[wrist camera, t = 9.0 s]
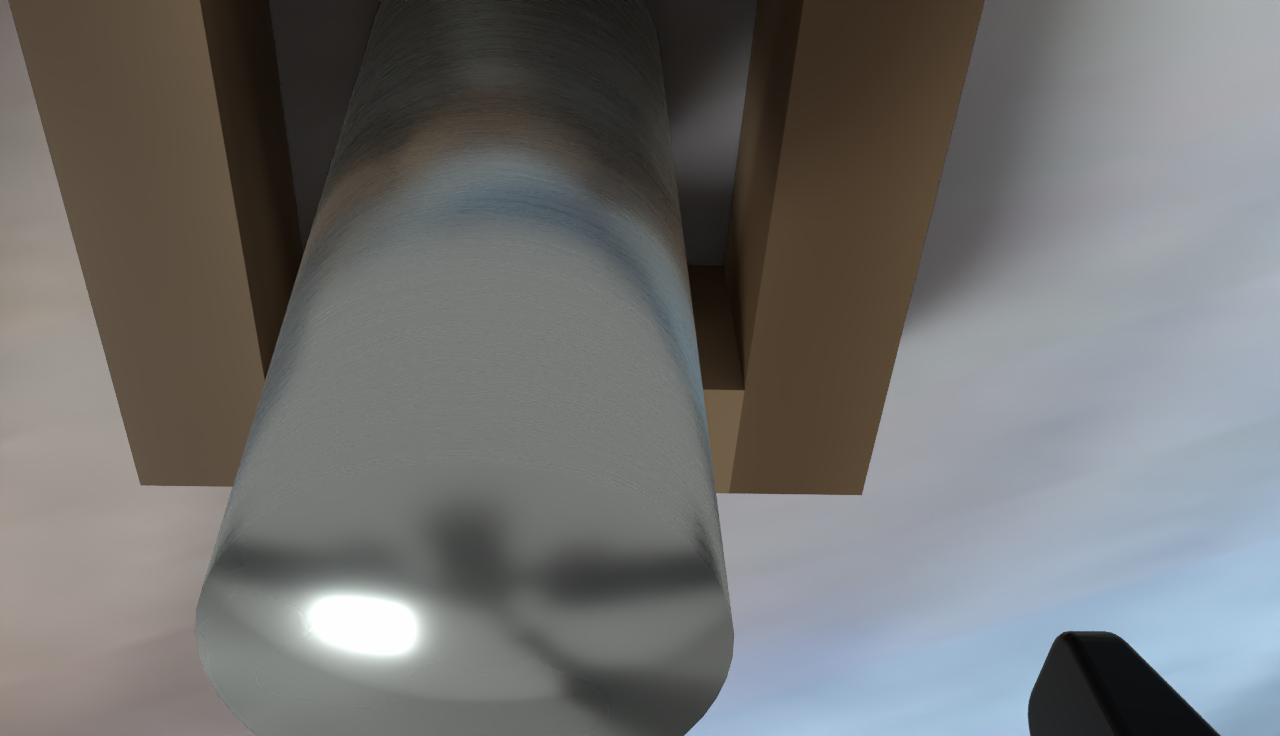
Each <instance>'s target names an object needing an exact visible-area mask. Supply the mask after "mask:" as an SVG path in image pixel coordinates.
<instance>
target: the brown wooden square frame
mask: <svg viewBox="0 0 1280 736" xmlns="http://www.w3.org/2000/svg"><path fill="white" fill-rule="evenodd" d="M984 1H985V0H758V2H757V10H756V17H755V25H754V33H753V41H752V49H751V57H750V65H749V72H748V80H747V88H746V96H745V104H744V112H743V120H742V127H741V135H740V143H739V151H738V159H737V167H736V174H735V182H734V190H733V198H732V206H731V214H730V222H729V229H728V237H727V245H726V253H725V261H724V267H712V266H687V268H688V276H689V284H690V292H691V300H692V308H693V315H694V323H695V331H696V339H697V347H698V355H699V363H700V371H701V379H702V386H703V394H704V402H705V410H706V418H707V426H708V434H709V442H710V450H711V458H712V465H713V473H714V481H715V489H716V493H753V494H827V495H862V491H863V487H864V483H865V479H866V475H867V471H868V467H869V463H870V459H871V455H872V451H873V447H874V443H875V439H876V435H877V431H878V427H879V423H880V419H881V415H882V411H883V407H884V403H885V399H886V395H887V391H888V387H889V383H890V379H891V375H892V371H893V367H894V363H895V359H896V355H897V351H898V347H899V343H900V339H901V335H902V331H903V327H904V322H905V318H906V314H907V310H908V306H909V302H910V298H911V294H912V290H913V286H914V282H915V278H916V274H917V270H918V266H919V262H920V258H921V254H922V250H923V246H924V242H925V238H926V234H927V230H928V226H929V222H930V218H931V214H932V210H933V206H934V202H935V198H936V194H937V190H938V186H939V182H940V178H941V174H942V170H943V166H944V162H945V158H946V154H947V149H948V145H949V141H950V137H951V133H952V129H953V125H954V121H955V117H956V113H957V109H958V105H959V101H960V97H961V93H962V89H963V85H964V81H965V77H966V73H967V69H968V65H969V61H970V57H971V53H972V49H973V45H974V41H975V37H976V33H977V29H978V25H979V21H980V17H981V13H982V9H983V5H984ZM9 4H10V8H11V11H12V15H13V19H14V22H15V26H16V30H17V33H18V37H19V41H20V44H21V48H22V52H23V55H24V59H25V63H26V66H27V70H28V74H29V77H30V81H31V85H32V88H33V92H34V96H35V99H36V103H37V107H38V110H39V114H40V118H41V121H42V125H43V129H44V132H45V136H46V140H47V143H48V147H49V151H50V154H51V158H52V162H53V165H54V169H55V173H56V176H57V180H58V184H59V187H60V191H61V195H62V198H63V202H64V206H65V209H66V213H67V217H68V220H69V224H70V228H71V231H72V235H73V239H74V242H75V246H76V250H77V253H78V257H79V261H80V264H81V268H82V272H83V275H84V279H85V283H86V286H87V290H88V294H89V297H90V301H91V305H92V308H93V312H94V316H95V319H96V323H97V327H98V330H99V334H100V338H101V341H102V345H103V349H104V352H105V356H106V360H107V363H108V367H109V371H110V374H111V378H112V382H113V385H114V389H115V393H116V396H117V400H118V404H119V407H120V411H121V415H122V418H123V422H124V426H125V429H126V433H127V437H128V440H129V444H130V448H131V451H132V455H133V459H134V462H135V466H136V470H137V473H138V477H139V481H140V484H141V485H158V486H232V487H233V485H234V482H235V478H236V475H237V472H238V469H239V465H240V462H241V459H242V455H243V452H244V449H245V445H246V442H247V439H248V436H249V432H250V429H251V426H252V422H253V419H254V416H255V413H256V409H257V406H258V403H259V399H260V396H261V393H262V389H263V386H264V383H265V380H266V376H267V373H268V370H269V366H270V363H271V360H272V356H273V353H274V350H275V347H276V343H277V340H278V337H279V333H280V330H281V327H282V324H283V320H284V317H285V314H286V310H287V307H288V304H289V300H290V297H291V294H292V291H293V287H294V284H295V281H296V277H297V274H298V271H299V267H300V264H301V261H302V258H303V254H302V247H301V239H300V232H299V224H298V217H297V209H296V202H295V194H294V187H293V179H292V172H291V164H290V157H289V149H288V142H287V135H286V127H285V120H284V112H283V105H282V97H281V90H280V82H279V75H278V67H277V60H276V52H275V45H274V37H273V30H272V22H271V15H270V8H269V0H9Z"/></svg>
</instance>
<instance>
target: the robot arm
mask: <svg viewBox="0 0 1280 736" xmlns="http://www.w3.org/2000/svg"><path fill="white" fill-rule="evenodd" d="M1028 723H1029V730H1030V736H1220V735H1219V734H1218V733H1217V732H1216V731H1215V730H1214V729H1213V728H1212V727H1211V726H1210V725H1209V724H1208V723H1207V722H1206V721H1205V720H1204V719H1203V718H1202V717H1201V716H1200V715H1199V714H1198V713H1197V712H1196V711H1195V710H1194V709H1193V708H1192V707H1191V706H1190V705H1189V704H1188V703H1187V702H1186V701H1185V700H1184V699H1183V698H1182V697H1181V696H1180V695H1179V694H1178V693H1177V692H1176V691H1175V690H1174V689H1173V688H1172V687H1171V686H1170V685H1169V684H1168V683H1167V682H1166V681H1165V680H1164V679H1163V678H1162V677H1161V676H1160V675H1159V674H1158V673H1157V672H1156V671H1155V670H1154V669H1153V668H1152V667H1151V666H1150V665H1149V664H1148V663H1147V662H1146V661H1145V660H1144V659H1143V658H1142V657H1141V656H1140V655H1139V654H1138V653H1137V652H1136V651H1135V650H1134V649H1133V648H1132V647H1131V646H1130V645H1129V644H1128V643H1127V642H1126V641H1125V640H1123V639H1122V638H1121V637H1119V636H1117V635H1116V634H1113V633H1110V632H1105V631H1068V632H1063V633H1062V634H1061V635H1059V636H1058V637H1057V638H1056V639H1055V641H1054V643H1053V644H1052V647H1051V649H1050V651H1049V654H1048V656H1047V658H1046V660H1045V663H1044V665H1043V667H1042V669H1041V672H1040V674H1039V676H1038V679H1037V681H1036V683H1035V685H1034V688H1033V690H1032V692H1031V696H1030V699H1029V705H1028Z"/></svg>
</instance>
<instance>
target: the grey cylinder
mask: <svg viewBox="0 0 1280 736" xmlns="http://www.w3.org/2000/svg"><path fill="white" fill-rule="evenodd" d="M195 635H196V641H197V648H198V654H199V657H200V660H201V662H202V665H203V668H204V671H205V673H206V676H207V678H208V679H209V681H210V683H211V684H212V686H213V688H214V690H215V691H216V693H217V695H218V696H219V698H220V699H221V700H222V701H223V702H224V704H225V705H226V706H227V707H228V708H229V710H230V711H231V712H232V713H233V715H234V716H235V717H236V718H238V719H239V720H240V721H241V722H242V723H243V724H244V725H245V726H246V727H247V728H248V729H250V730H251V731H252V732H253V733H254V734H255V735H257V736H684V735H685V734H686V733H687V732H688V731H689V730H690V729H691V728H692V727H693V726H694V725H695V724H696V723H697V722H698V721H699V720H700V719H701V718H702V717H703V716H704V715H705V713H706V712H707V710H708V709H709V708H710V706H711V705H712V704H713V702H714V701H715V699H716V698H717V696H718V694H719V692H720V690H721V688H722V686H723V684H724V682H725V680H726V678H727V675H728V671H729V668H730V664H731V660H732V656H733V643H734V631H733V623H732V615H731V607H730V600H729V592H728V584H727V576H726V568H725V560H724V552H723V544H722V536H721V529H720V521H719V513H718V505H717V497H716V489H715V481H714V473H713V465H712V458H711V450H710V442H709V434H708V426H707V418H706V410H705V402H704V394H703V386H702V379H701V371H700V363H699V355H698V347H697V339H696V331H695V323H694V315H693V308H692V300H691V292H690V284H689V276H688V268H687V260H686V252H685V244H684V237H683V229H682V221H681V213H680V205H679V197H678V189H677V181H676V173H675V165H674V158H673V150H672V142H671V134H670V126H669V118H668V110H667V102H666V94H665V87H664V79H663V71H662V63H661V55H660V47H659V40H658V36H657V32H656V28H655V25H654V21H653V19H652V16H651V14H650V12H649V10H648V7H647V5H646V3H645V1H644V0H382V1H381V3H380V6H379V8H378V10H377V14H376V17H375V20H374V24H373V27H372V30H371V33H370V37H369V40H368V43H367V47H366V50H365V53H364V57H363V60H362V63H361V66H360V70H359V73H358V76H357V80H356V83H355V86H354V89H353V93H352V96H351V99H350V103H349V106H348V109H347V113H346V116H345V119H344V122H343V126H342V129H341V132H340V136H339V139H338V142H337V146H336V149H335V152H334V155H333V159H332V162H331V165H330V169H329V172H328V175H327V178H326V182H325V185H324V188H323V192H322V195H321V198H320V202H319V205H318V208H317V211H316V215H315V218H314V221H313V225H312V228H311V231H310V235H309V238H308V241H307V244H306V248H305V251H304V254H303V258H302V261H301V264H300V267H299V271H298V274H297V277H296V281H295V284H294V287H293V291H292V294H291V297H290V300H289V304H288V307H287V310H286V314H285V317H284V320H283V324H282V327H281V330H280V333H279V337H278V340H277V343H276V347H275V350H274V353H273V356H272V360H271V363H270V366H269V370H268V373H267V376H266V380H265V383H264V386H263V389H262V393H261V396H260V399H259V403H258V406H257V409H256V413H255V416H254V419H253V422H252V426H251V429H250V432H249V436H248V439H247V442H246V445H245V449H244V452H243V455H242V459H241V462H240V465H239V469H238V472H237V475H236V478H235V482H234V485H233V488H232V492H231V495H230V498H229V502H228V505H227V508H226V511H225V515H224V518H223V521H222V525H221V528H220V531H219V534H218V538H217V541H216V544H215V548H214V551H213V554H212V558H211V561H210V564H209V567H208V571H207V574H206V577H205V581H204V584H203V587H202V591H201V594H200V598H199V601H198V605H197V608H196V623H195Z"/></svg>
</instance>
